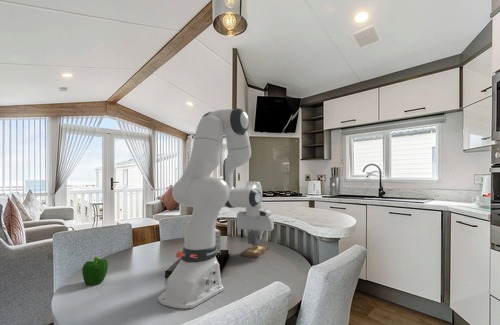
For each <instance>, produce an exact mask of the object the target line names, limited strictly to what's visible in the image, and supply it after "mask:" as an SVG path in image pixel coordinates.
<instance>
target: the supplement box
mask: <svg viewBox="0 0 500 325" xmlns="http://www.w3.org/2000/svg"><path fill="white" fill-rule="evenodd" d="M215 244H216V245H217V253H220V254H221V231H220V230H219V229H217V228H216V232H215Z"/></svg>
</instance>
